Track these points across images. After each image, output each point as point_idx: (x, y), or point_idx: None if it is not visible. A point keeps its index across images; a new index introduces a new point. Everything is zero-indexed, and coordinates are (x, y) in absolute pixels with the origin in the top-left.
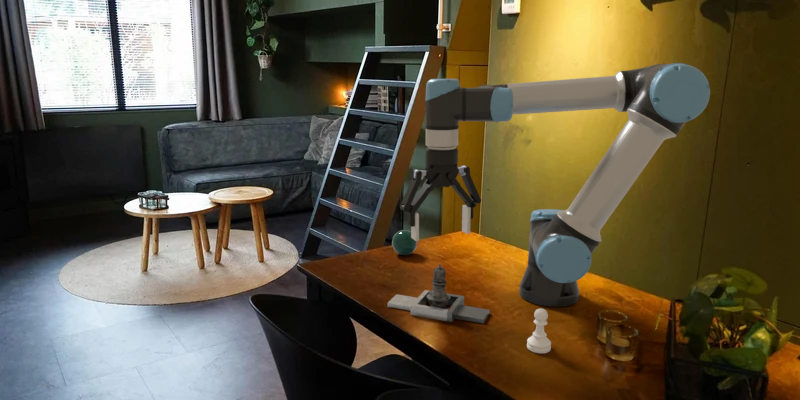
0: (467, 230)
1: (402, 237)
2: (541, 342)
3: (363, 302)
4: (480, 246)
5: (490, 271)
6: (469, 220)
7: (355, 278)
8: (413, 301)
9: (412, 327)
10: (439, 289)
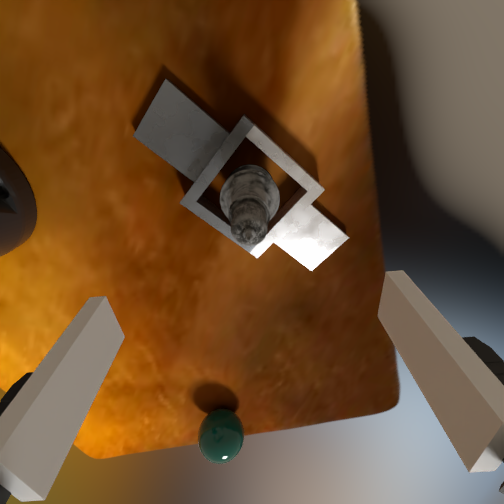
0: (96, 309)
1: (228, 443)
2: None
3: (379, 264)
4: None
5: None
6: (51, 357)
7: (342, 353)
8: (293, 230)
9: (345, 115)
10: (254, 194)
